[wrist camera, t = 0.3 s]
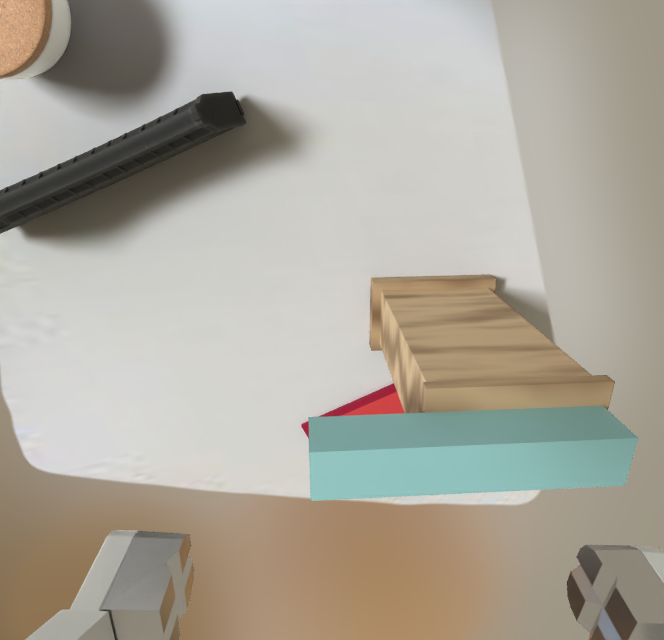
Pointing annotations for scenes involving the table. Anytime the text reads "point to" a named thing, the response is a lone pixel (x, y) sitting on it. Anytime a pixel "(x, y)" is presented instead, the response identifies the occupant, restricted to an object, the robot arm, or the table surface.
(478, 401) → the pedestal
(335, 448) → the rod
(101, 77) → the table surface
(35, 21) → the lidded bowl
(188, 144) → the magazine
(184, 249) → the table surface
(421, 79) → the table surface
